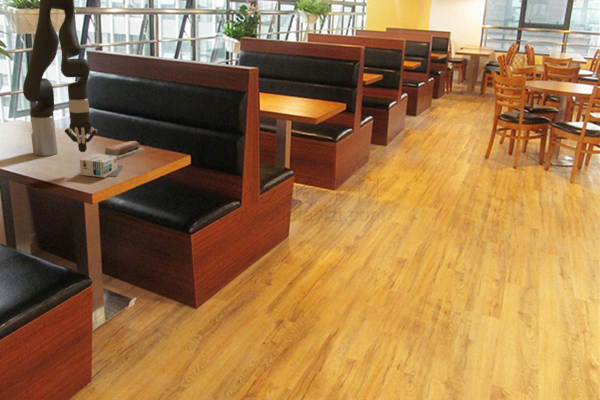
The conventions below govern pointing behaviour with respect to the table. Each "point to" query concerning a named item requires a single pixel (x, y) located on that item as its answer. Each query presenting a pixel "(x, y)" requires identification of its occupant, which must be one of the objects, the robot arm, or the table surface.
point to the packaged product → (124, 149)
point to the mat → (115, 172)
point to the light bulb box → (98, 165)
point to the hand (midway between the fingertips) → (83, 151)
